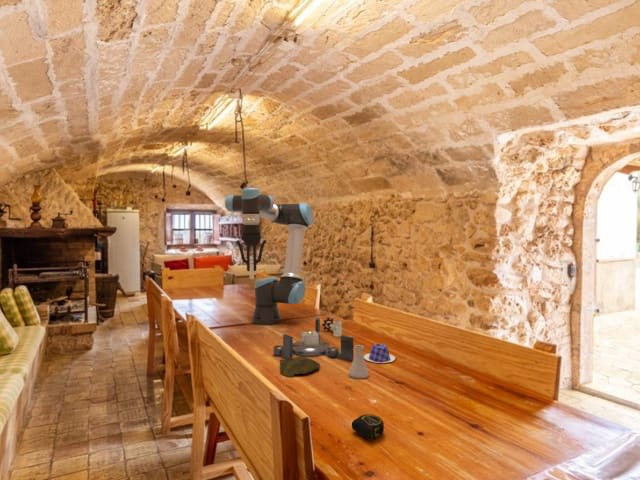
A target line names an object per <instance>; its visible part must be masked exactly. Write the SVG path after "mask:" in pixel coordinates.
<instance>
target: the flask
mask: <svg viewBox="0 0 640 480" xmlns="http://www.w3.org/2000/svg"><path fill="white" fill-rule="evenodd" d="M353 349H354V355H353V361H352V362H351V366H350V368H349V371H348V377H350V378H353V379H366V378H368V377H369V376H370V374H369V371H368V367H367V365H366V361H365V358H364V350H363V349H364V345H360V344H358V345H357V344H356V345H353Z"/></svg>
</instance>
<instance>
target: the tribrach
mask: <svg viewBox="0 0 640 480" xmlns="http://www.w3.org/2000/svg"><path fill="white" fill-rule="evenodd" d="M293 355H294V356H297V357H306V358H309V357H310V358H311V357H312V358H313V357H315V358H316V357H320V356H321V357H322V356H326V357H328V358H330V359H339V360H344V361H348V362H350V363H352V362H353V359H354V337H353V336H349V335H344V334H342V335H341V336H340V347H337V346H330V344H329V343H328V342H327V341H324V340H321V317H320V316H317V317H316V318H315V330H313V331H312V330H310V331H309V330H308V331H301V340H298V341H295V342H293Z"/></svg>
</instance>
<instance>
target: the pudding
mask: <svg viewBox="0 0 640 480" xmlns="http://www.w3.org/2000/svg"><path fill="white" fill-rule="evenodd" d="M363 358H364V360H366V361H369V362H371V363H377V364H378V363H379V364H384V363H391V362H394V361H395V360H396V357H395V355H392V354H390V352H389V348H388V346H387V345H385V344H382V343H381V344H380V343H375V344H373V345H371V348H370V352H369V353H366V354H365V355H364V354H363Z"/></svg>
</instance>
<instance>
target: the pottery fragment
mask: <svg viewBox="0 0 640 480" xmlns="http://www.w3.org/2000/svg"><path fill="white" fill-rule="evenodd" d="M320 367H321V364H320V363H319V362H318V361H315V360H314V359H312V358H309V357H304V356H295V357H293V358H292V359H280V360H279V369H280V370H279V373H280V375H282V376H285V377H288V378H290V379H291V378H292V377H293V376H295V375H302V374H303V375H306V374H309V373H311V372H313V371H315V370H318V369H319V368H320Z"/></svg>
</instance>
